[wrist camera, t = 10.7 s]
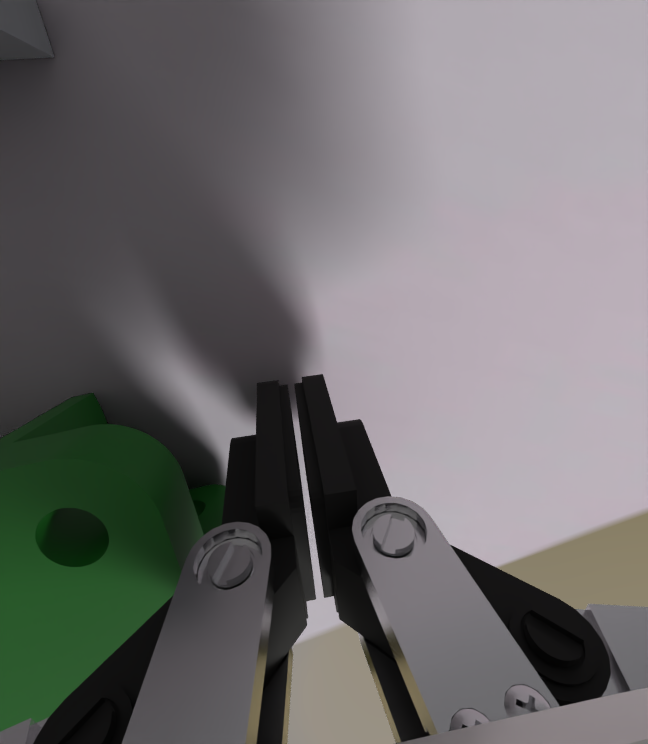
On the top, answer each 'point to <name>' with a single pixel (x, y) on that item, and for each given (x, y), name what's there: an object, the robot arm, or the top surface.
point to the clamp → (85, 547)
